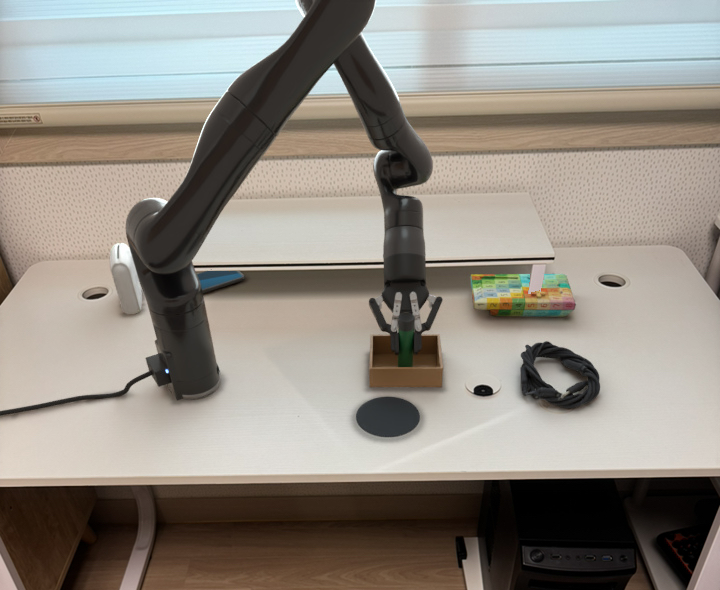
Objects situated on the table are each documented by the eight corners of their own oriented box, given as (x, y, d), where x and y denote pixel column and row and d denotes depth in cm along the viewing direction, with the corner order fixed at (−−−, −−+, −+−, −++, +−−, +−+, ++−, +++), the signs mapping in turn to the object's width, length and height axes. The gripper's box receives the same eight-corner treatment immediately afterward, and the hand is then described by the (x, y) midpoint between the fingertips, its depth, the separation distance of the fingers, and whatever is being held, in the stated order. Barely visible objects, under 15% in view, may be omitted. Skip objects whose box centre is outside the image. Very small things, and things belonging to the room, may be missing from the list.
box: (369, 389, 125) (369, 368, 122) (370, 354, 133) (370, 334, 130) (441, 389, 125) (443, 368, 122) (438, 354, 133) (439, 334, 130)
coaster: (377, 447, 114) (377, 445, 114) (344, 411, 121) (344, 409, 120) (432, 425, 118) (432, 422, 117) (397, 391, 125) (397, 389, 124)
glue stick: (402, 375, 127) (404, 323, 120) (394, 367, 129) (395, 315, 121) (415, 370, 128) (418, 318, 121) (407, 362, 130) (408, 311, 122)
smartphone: (170, 285, 153) (169, 281, 153) (231, 266, 159) (231, 262, 159) (183, 300, 149) (182, 296, 148) (246, 279, 155) (246, 276, 154)
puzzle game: (576, 299, 137) (475, 299, 138) (572, 320, 140) (472, 319, 141) (567, 270, 145) (471, 270, 146) (563, 291, 148) (469, 290, 149)
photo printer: (123, 292, 152) (107, 238, 143) (143, 289, 153) (128, 236, 144) (122, 316, 145) (105, 261, 136) (143, 313, 146) (128, 258, 137)
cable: (518, 350, 133) (521, 331, 130) (593, 356, 131) (598, 336, 128) (518, 405, 121) (521, 385, 118) (600, 412, 119) (606, 392, 116)
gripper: (365, 252, 120) (367, 351, 120) (445, 250, 120) (447, 349, 120) (365, 265, 128) (367, 359, 128) (441, 263, 128) (443, 357, 128)
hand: (406, 353), depth 124 cm, fingers closed on glue stick, 3 cm apart
